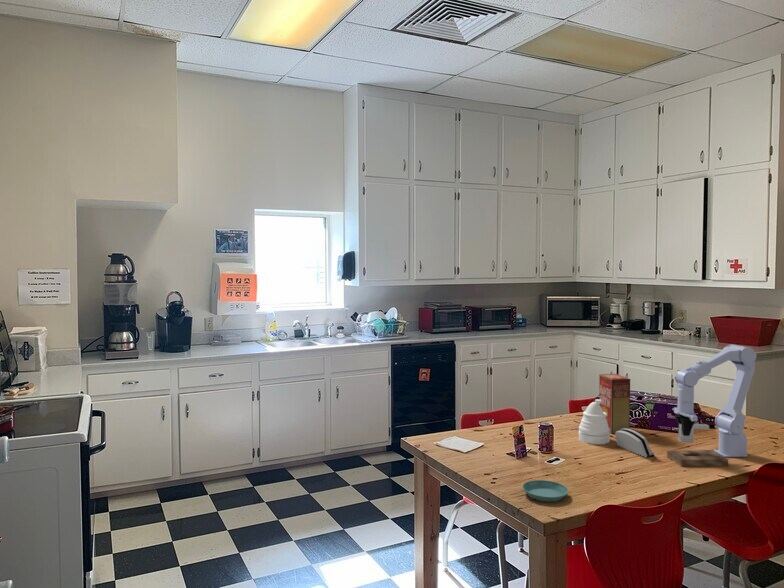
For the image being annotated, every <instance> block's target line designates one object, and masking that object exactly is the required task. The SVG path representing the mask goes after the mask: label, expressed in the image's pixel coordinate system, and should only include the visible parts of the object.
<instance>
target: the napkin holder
mask: <svg viewBox="0 0 784 588" xmlns="http://www.w3.org/2000/svg"><path fill="white" fill-rule="evenodd" d="M614 435H615V439H616V445H617V447H619V446H620V448H622V447H623V448H622V449H624V448H625V449H624V450H626V449H628V450H630V451H629V452H631V451H632V452H631V453H633V452H634V453H633V454H635V453H636V454H635V455H637V454H639V455H638V456H640V455H641V456H640V457H642V456H644V457H647V456H652V455H655V453H654V451H652V450H651V447H650V445H649V441H648V440H647V438H646V437H645V436H644V435H643V434H641V433H639V432H638V431H635V430H633V429H631V428H630V429H626V428H624V429H620V430H619V431H616V432H615V434H614ZM628 450H627V451H628ZM644 457H643V458H644ZM647 458H648V457H647Z"/></svg>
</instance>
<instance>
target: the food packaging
mask: <svg viewBox="0 0 784 588" xmlns="http://www.w3.org/2000/svg"><path fill="white" fill-rule="evenodd" d="M598 378H599V382H598V384H599V386H598V387H599V388H598V390H599V392H598V397H599V399H600V400H602V401H601V403H600V404H599V405H600V407H601V408H602V410H603V412H605V413H606V414H607V416H606V417H605V418H606V420H607V424H608V427H609V429H610V434H612V435H615V432H616V431H619V430H620V429H624V428H626V429H631V413H630V412H631V378H628V377H626V376H622V375H619V374H618V373H602V374H601V373H600V374H599V377H598Z"/></svg>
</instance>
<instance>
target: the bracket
mask: <svg viewBox="0 0 784 588" xmlns="http://www.w3.org/2000/svg"><path fill="white" fill-rule="evenodd" d="M696 429H697V430H710V425H709V424H704V423H694V425H693V427H692V429H691V432H690V435H689V436H684V435H683V428H682V424H679V426H678V434H677V436H678V437H677V441H678V442H679V443H686V444H687V443H691V444H693V443H694V436H695V435H694V432H695V430H696Z"/></svg>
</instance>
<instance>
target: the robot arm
mask: <svg viewBox="0 0 784 588" xmlns="http://www.w3.org/2000/svg"><path fill="white" fill-rule="evenodd" d="M756 359H757V353H756V352H755V350H754V349H753V348H752V347H751V346H743V345H737V344H734V343H733V344H732V343H731V344H728V345H727V346H724V347H723V349H722V350H720V351H719V352H718V353H716V354H715V355H713V356H712V357H710V358H709V359H707V360H706V361H704V360H697V361H696V363H694V364H693V365H691V366H688V367H686V369H680V370H678V371H677V372H676V374H675V376H674V381H675V382H676V386H677V406H675V407H673V413H674V414H676V415H674V418H675V420H676V422H677V426H678V427H679V424H682V428H683V435H684V436H689V435H690V432H691V429H692V427H693V425H694V424H696V422H698V419H699V418H698V416H697V415H696V413H695V412H694V409H695V408H694V406H695V405H694V404H695V401H694V399H695V386H696V385H697V384H698V382H699V380H701V379H702V378H704V377H706V376H708V375H709V374H711V373H712V370H713V369H714V368H716V367H718V366H720V365H722V364H724V363H727V362H728V361H729V362H731V363H732V364H733V365H734V366H735V367H736V369H737V372H736V374H735V378H734V380H733V384H732V387H731V389H730V393H729V396H728V399H727V403H726V406H724V407H722V408H721V409H720V410H719V412H718V414H717V415H716V416H715V418H714V424H715V426H716V427H717V430H718V449H713V451H714V452H716V453H718V454H720V455H721V456H723V457H725V458H731V457H732V458H734V457H735V458H737V457H738V458H740V457H742V458H743V457H746V458H747V457H748V453H747V452H748V451H747V450H748V439H747V435H746V434H745V433H744V430H745V421H746V420H745V419H746V416H745V415H744V414H743V412H742V409H743V407H744V403H745V401H746V398H747V396H748V395H747V394H748V392H749V389H750V386H751V385H750V384H751V383H752V379H753V376H754V373H755V370H756V369H755V368H756V366H755V365H756V364H755V363H756V362H755V361H756Z"/></svg>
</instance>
